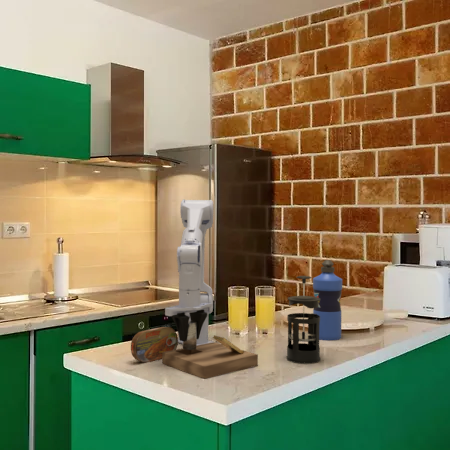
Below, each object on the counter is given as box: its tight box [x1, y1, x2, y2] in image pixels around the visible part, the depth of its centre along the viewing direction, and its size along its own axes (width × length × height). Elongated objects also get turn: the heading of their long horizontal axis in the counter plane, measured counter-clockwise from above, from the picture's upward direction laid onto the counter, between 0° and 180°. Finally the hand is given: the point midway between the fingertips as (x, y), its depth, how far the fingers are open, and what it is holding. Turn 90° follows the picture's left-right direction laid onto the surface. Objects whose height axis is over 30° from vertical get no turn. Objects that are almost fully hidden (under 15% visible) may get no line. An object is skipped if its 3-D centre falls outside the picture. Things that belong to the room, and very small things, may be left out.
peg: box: [182, 321, 197, 350], centre depth 153 cm, size 4×4×7 cm
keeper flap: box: [212, 335, 245, 354], centre depth 150 cm, size 4×8×1 cm
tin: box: [130, 326, 179, 364], centre depth 157 cm, size 15×3×8 cm, turn 136°
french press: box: [285, 275, 321, 365], centre depth 158 cm, size 12×9×23 cm
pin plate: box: [161, 341, 259, 379], centre depth 151 cm, size 18×18×3 cm
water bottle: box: [312, 259, 343, 341], centre depth 184 cm, size 9×9×25 cm
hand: (189, 339), depth 153 cm, fingers closed on peg, 4 cm apart
